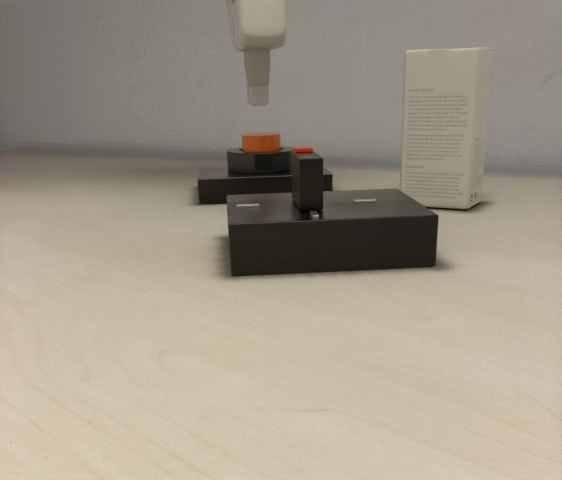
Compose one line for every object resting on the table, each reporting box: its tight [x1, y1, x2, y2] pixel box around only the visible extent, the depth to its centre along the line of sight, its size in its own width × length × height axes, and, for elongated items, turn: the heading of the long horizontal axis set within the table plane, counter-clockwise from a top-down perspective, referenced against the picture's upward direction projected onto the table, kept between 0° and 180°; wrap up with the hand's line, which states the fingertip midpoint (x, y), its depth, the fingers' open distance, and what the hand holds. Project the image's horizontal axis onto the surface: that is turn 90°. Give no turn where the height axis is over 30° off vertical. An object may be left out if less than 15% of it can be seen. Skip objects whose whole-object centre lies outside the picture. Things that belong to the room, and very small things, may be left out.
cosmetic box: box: [399, 46, 494, 210], centre depth 57 cm, size 6×4×12 cm
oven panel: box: [226, 187, 440, 277], centre depth 45 cm, size 12×10×3 cm
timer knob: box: [291, 145, 324, 211], centre depth 43 cm, size 5×1×3 cm, turn 5°
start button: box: [241, 131, 282, 152], centre depth 66 cm, size 4×4×2 cm
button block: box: [197, 145, 333, 205], centre depth 67 cm, size 12×10×4 cm
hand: (258, 105), depth 65 cm, fingers closed
